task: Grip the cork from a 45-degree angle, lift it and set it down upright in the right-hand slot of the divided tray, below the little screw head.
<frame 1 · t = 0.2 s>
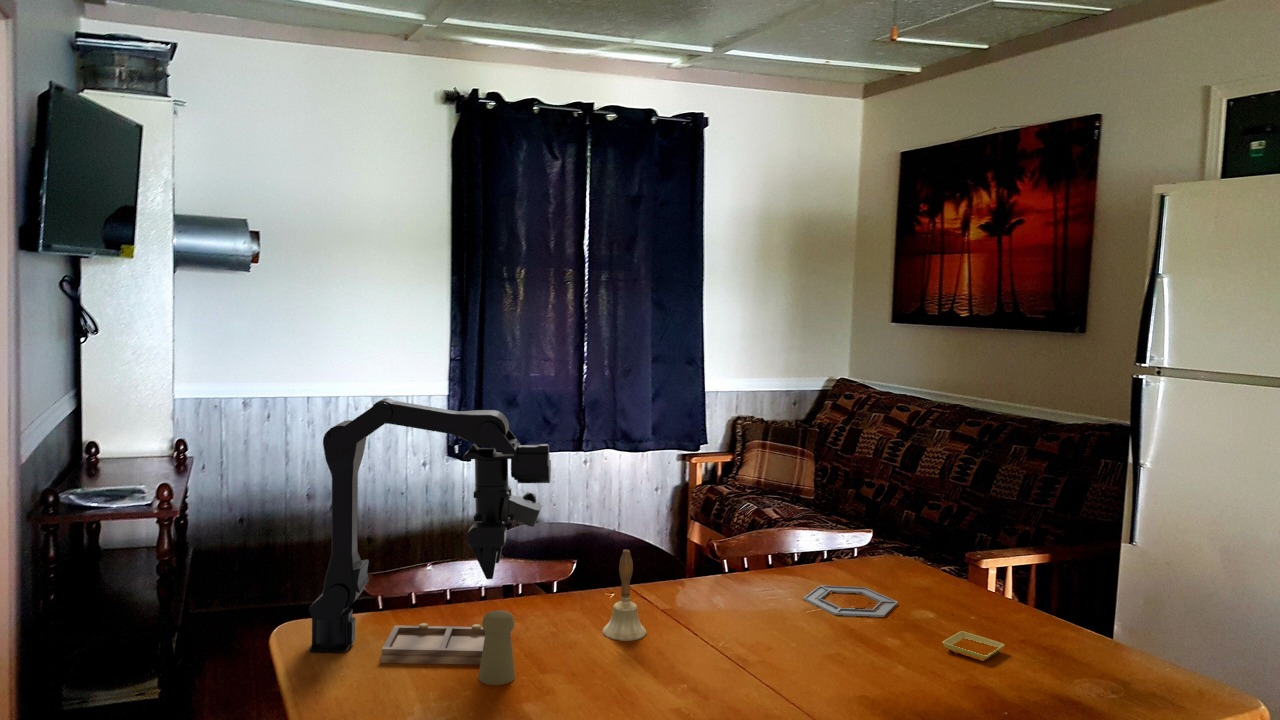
hand: (492, 570, 167), 14 cm above the table, tool pointing down, fingers open, 9 cm apart
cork: (496, 678, 157), on the table
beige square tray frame: (972, 654, 177), on the table
hand bell: (624, 633, 180), on the table
grey hexagonal frame: (850, 604, 202), on the table
divided tray: (445, 650, 168), on the table
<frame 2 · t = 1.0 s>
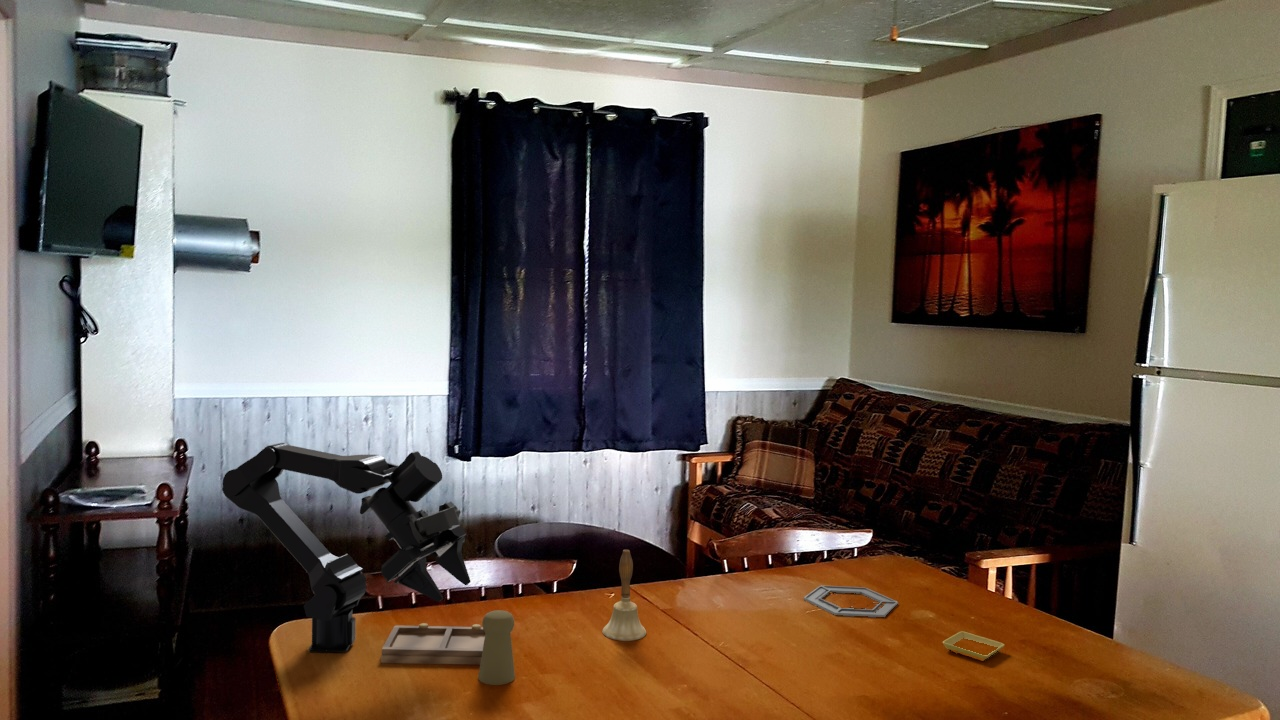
hand: (455, 591, 159), 13 cm above the table, tool tilted 45°, fingers open, 9 cm apart
nothing on the table moved.
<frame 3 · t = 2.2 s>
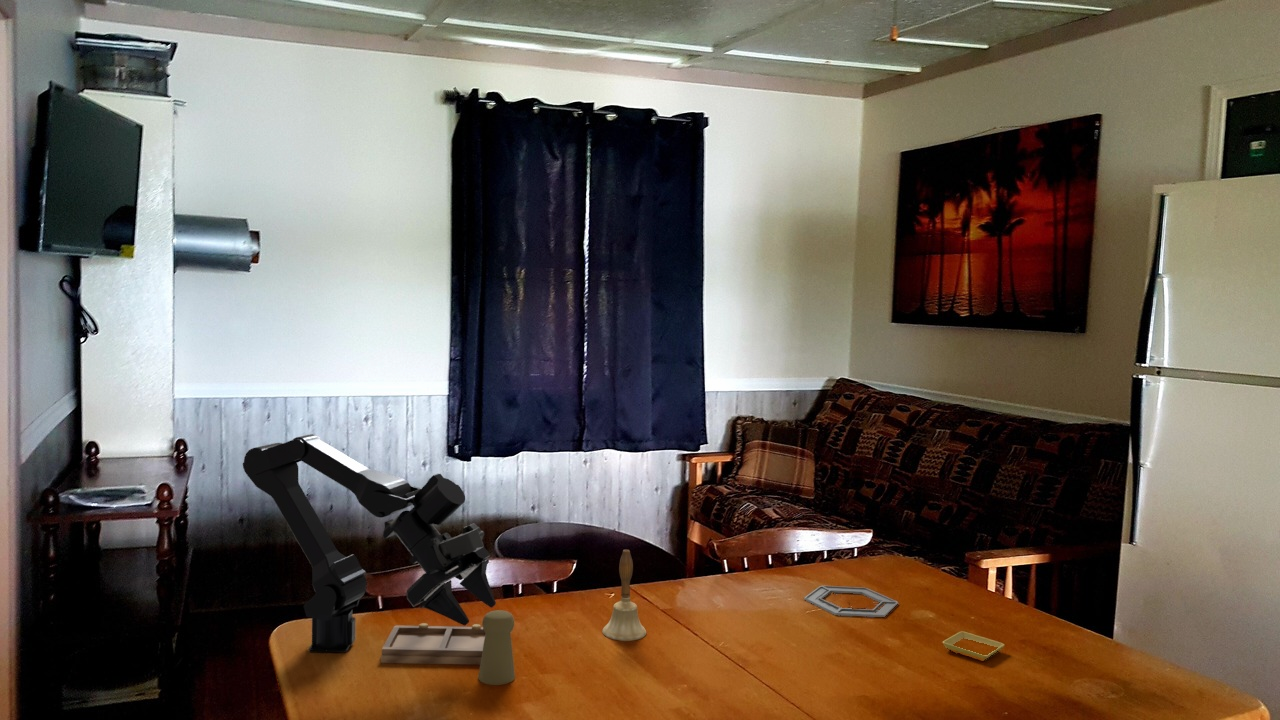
hand: (480, 614, 158), 10 cm above the table, tool tilted 45°, fingers open, 9 cm apart
nothing on the table moved.
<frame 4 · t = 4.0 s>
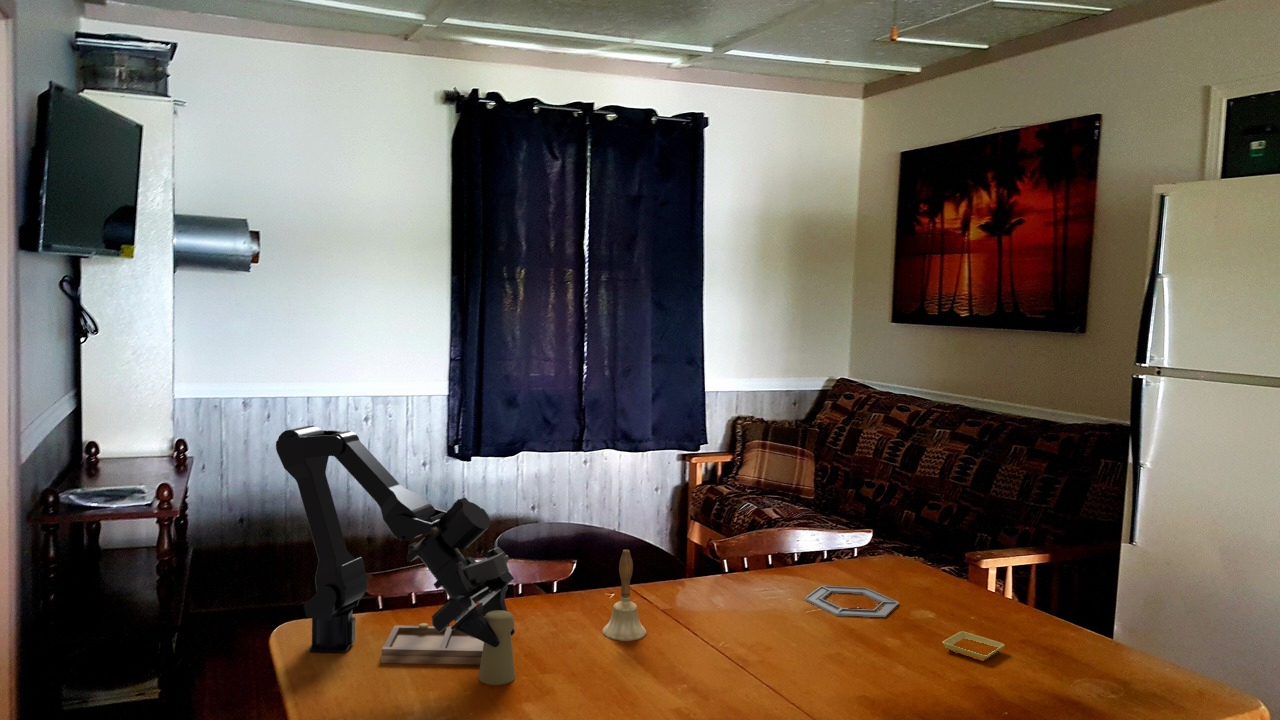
hand: (505, 639, 156), 7 cm above the table, tool tilted 45°, fingers closed on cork, 5 cm apart
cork: (496, 678, 157), on the table, touching gripper
everything else where it was.
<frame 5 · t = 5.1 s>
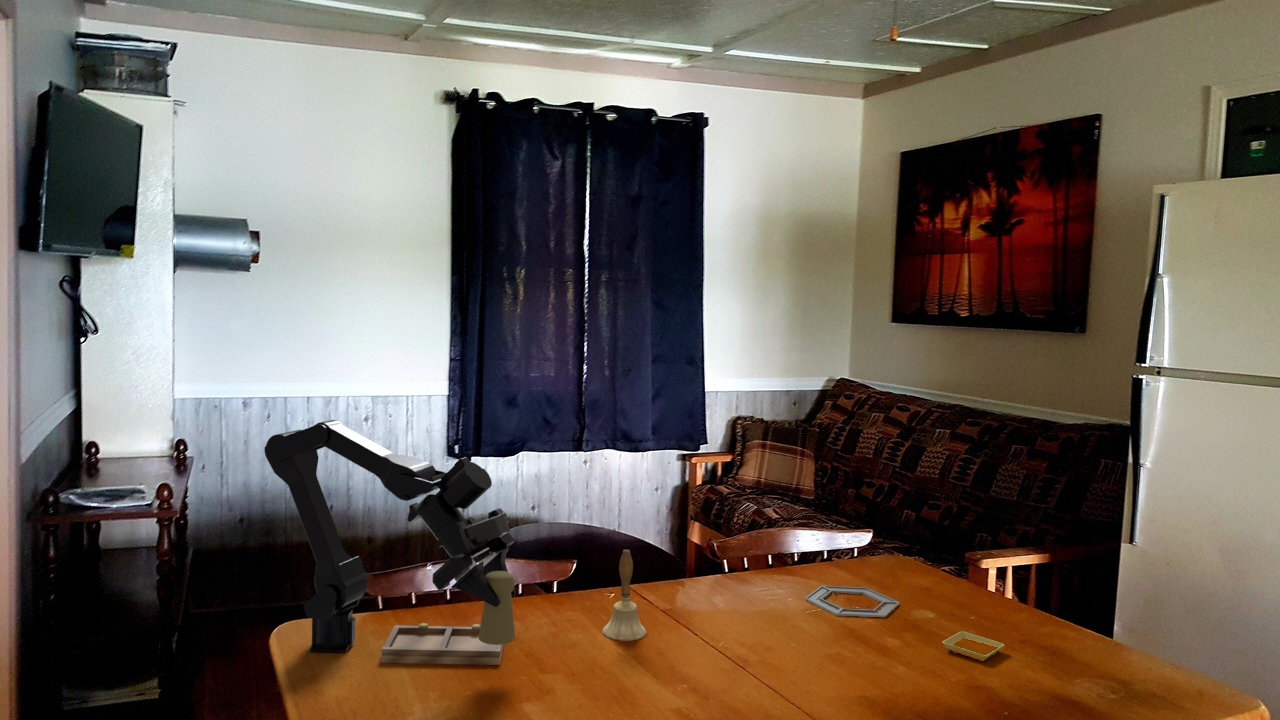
hand: (505, 600, 156), 13 cm above the table, tool tilted 45°, fingers closed on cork, 5 cm apart
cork: (496, 638, 157), point 6 cm above the table, touching gripper
everything else where it was.
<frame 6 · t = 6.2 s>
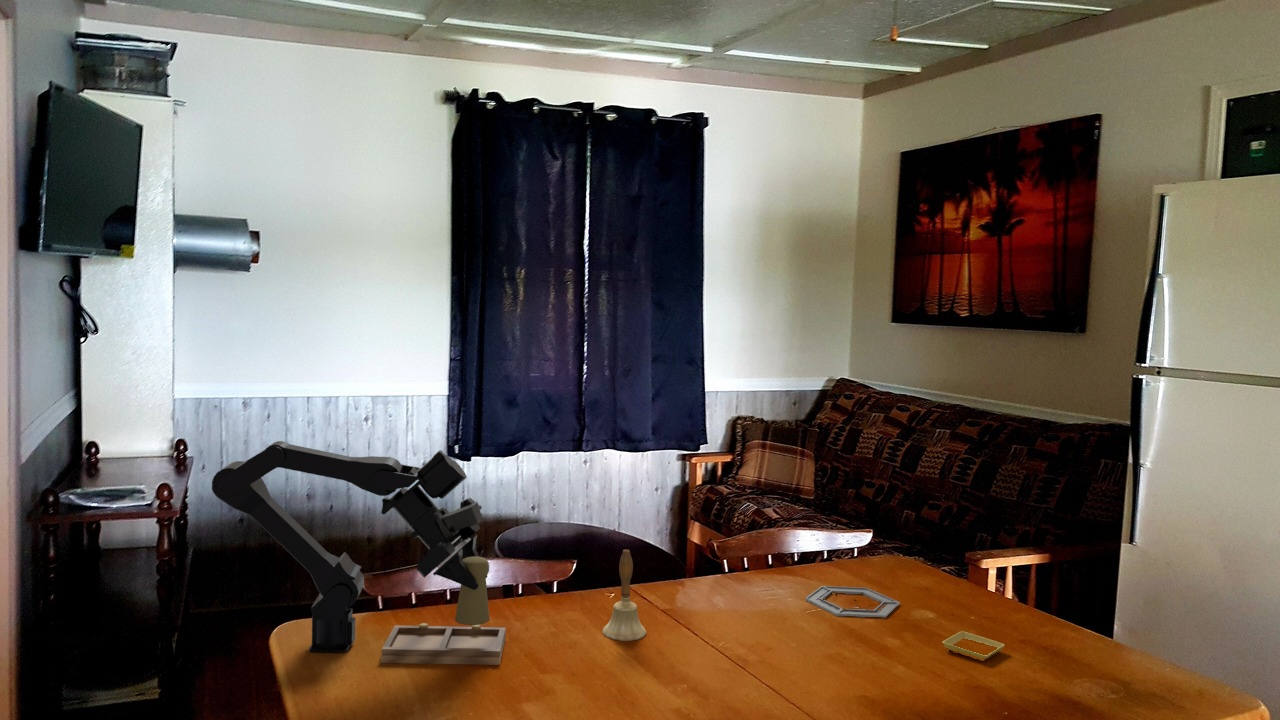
hand: (481, 583, 167), 12 cm above the table, tool tilted 45°, fingers closed on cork, 5 cm apart
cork: (472, 620, 167), point 6 cm above the table, touching gripper
everything else where it was.
when the fingers open (9 cm above the table, at t = 7.3 s): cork stays where it is, resting on divided tray.
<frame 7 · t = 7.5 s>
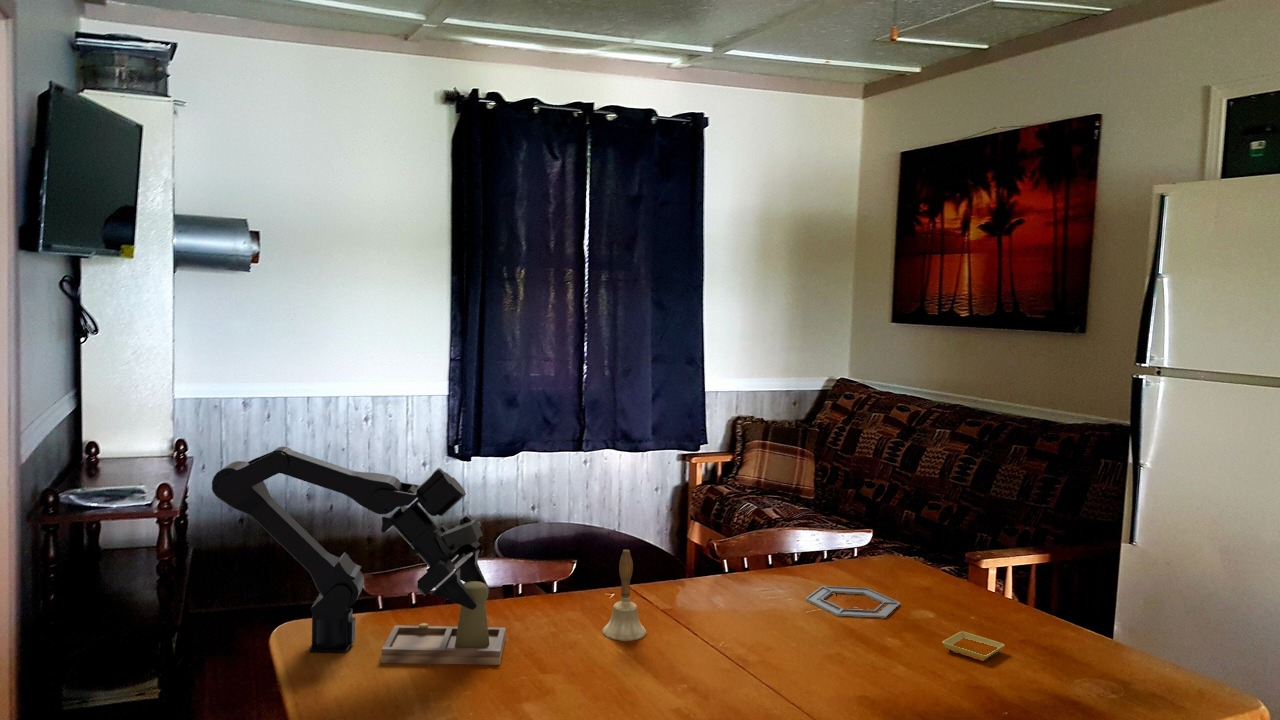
hand: (481, 600, 167), 9 cm above the table, tool tilted 45°, fingers open, 8 cm apart
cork: (472, 645, 168), point 1 cm above the table, touching divided tray
everything else where it was.
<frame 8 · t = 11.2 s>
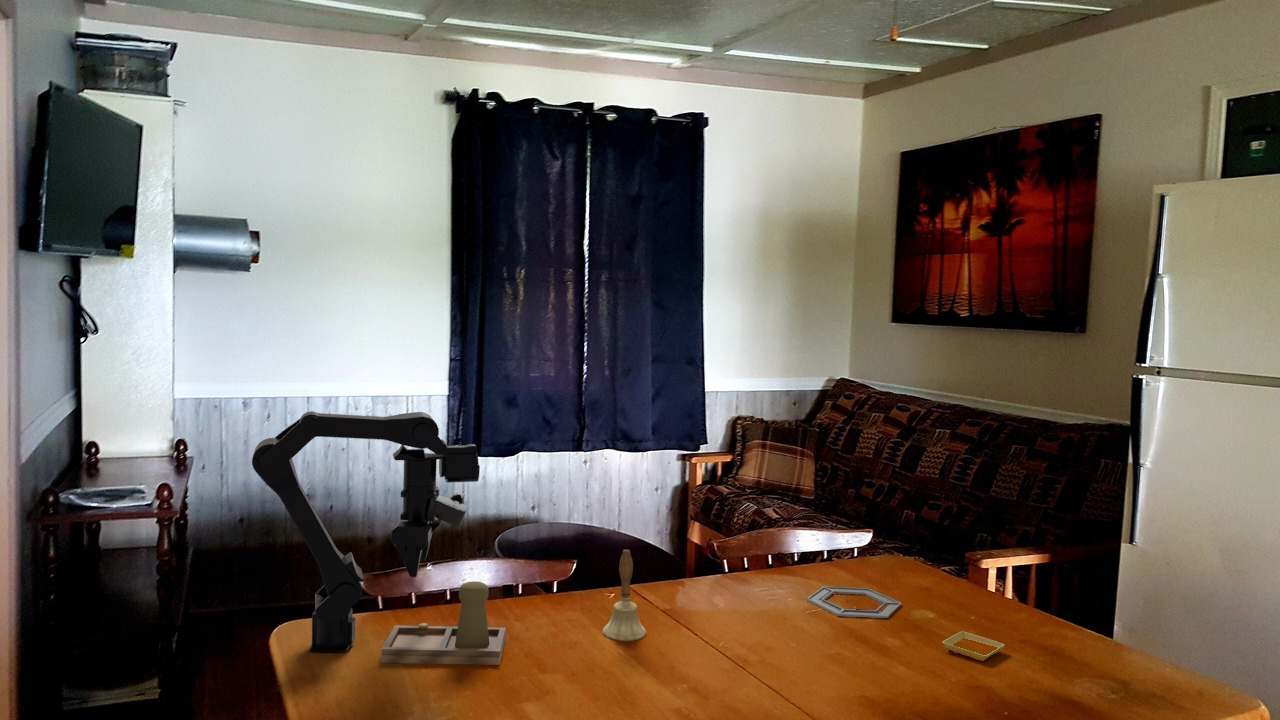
hand: (418, 568, 171), 13 cm above the table, tool pointing down, fingers open, 9 cm apart
nothing on the table moved.
at the end: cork inside the target area on the divided tray (0.1 cm from its centre), point 1.0 cm above the divided tray's base; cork tilted 0°; the gripper is holding nothing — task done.
